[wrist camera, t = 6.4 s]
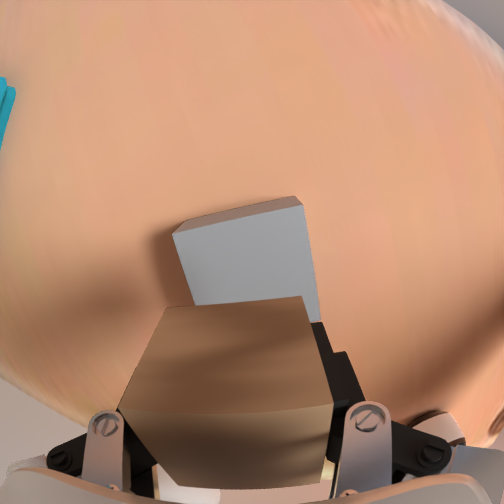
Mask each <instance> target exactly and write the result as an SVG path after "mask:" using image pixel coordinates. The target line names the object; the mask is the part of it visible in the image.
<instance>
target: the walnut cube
mask: <svg viewBox="0 0 504 504" xmlns="http://www.w3.org/2000/svg"><path fill="white" fill-rule="evenodd" d="M333 405H334V403H333V399H332V395H331V392H330V388H329V385H328V381H327V378H326V374H325V371H324V367H323V364H322V360H321V357H320V354H319V350H318V347H317V343H316V340H315V337H314V334H313V330H312V327H311V324H310V320H309V317H308V314H307V311H306V308H305V304H304V301H303V298H302V296H293V297H285V298H275V299H266V300H256V301H246V302H235V303H223V304H210V305H197V306H182V307H167V308H166V310H165V312H164V314H163V316H162V318H161V320H160V322H159V324H158V326H157V328H156V329H155V331H154V333H153V335H152V337H151V339H150V341H149V343H148V345H147V347H146V349H145V351H144V353H143V355H142V357H141V359H140V361H139V363H138V366H137V368H136V370H135V372H134V374H133V376H132V378H131V380H130V382H129V384H128V386H127V389H126V391H125V393H124V395H123V397H122V399H121V402H120V404H119V406H118V409H119V410H120V412H121V413H122V415H123V416H124V418H125V419H126V421H127V422H128V424H129V425H130V427H131V428H132V430H133V431H134V432H135V434H136V435H137V436H138V438H139V439H140V441H141V442H142V443H143V445H144V446H145V447H146V448H147V450H148V451H149V452H150V454H151V455H152V456H153V457H154V459H155V460H156V461H157V462H158V463H159V465H160V466H161V467H162V468H163V469H164V471H165V472H166V473H167V474H168V475H169V476H170V477H171V478H172V480H173V481H174V482H175V483H176V484H177V485H178V486H184V487H194V488H207V489H267V488H268V489H269V488H282V487H292V486H300V485H308V484H315V483H319V482H320V478H321V474H322V469H323V464H324V459H325V454H326V449H327V443H328V437H329V431H330V425H331V419H332V412H333Z"/></svg>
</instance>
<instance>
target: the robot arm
mask: <svg viewBox="0 0 504 504" xmlns="http://www.w3.org/2000/svg"><path fill="white" fill-rule="evenodd" d="M310 324H311V327H312V330H313V334H314V337H315V340H316V343H317V347H318V350H319V354H320V357H321V360H322V364H323V367H324V371H325V374H326V378H327V381H328V385H329V388H330V392H331V395H332V399H333V403H334V405H333V412H332V419H331V425H330V431H329V437H328V443H327V449H326V454H325V456H326V458H327V460H329V461H331V462H333V463H334V469H333V475H332V481H331V487H330V492H329V497H328V500H323V501H316V502H310V503H302V504H500V501H501V498H502V493H503V489H504V452H503V451H501V450H496V449H487V448H478V447H470V446H463V445H457V446H456V447H452V446H450V445H449V443H448V442H447V441H446V440H445V439H443V438H441V437H438V436H435V435H431V434H428V433H425V432H422V431H419V430H416V429H413V428H411V427H408V426H405V425H402V424H399V423H397V422H394V421H391V416H390V412H389V411H388V409H387V408H386V407H385V406H384V405H382V404H381V403H378V402H375V401H366V400H365V398H364V395H363V393H362V390H361V388H360V385H359V382H358V380H357V377H356V375H355V372H354V370H353V367H352V365H351V363H350V360H349V358H348V355H347V353H346V352H345V351H343V352H337V353H333V350H332V348H331V345H330V342H329V339H328V337H327V334H326V331H325V328H324V326H323V323H322V322H316V323H310ZM136 368H137V367H136ZM135 370H136V369H135ZM134 372H135V371H134ZM133 374H134V373H133ZM132 376H133V375H132ZM131 378H132V377H131ZM130 380H131V379H130ZM129 382H130V381H129ZM128 384H129V383H128ZM126 389H127V388H126ZM125 391H126V390H125ZM124 393H125V392H124ZM123 395H124V394H123ZM122 397H123V396H122ZM121 399H122V398H121ZM120 402H121V401H120ZM119 404H120V403H119ZM118 406H119V405H118ZM156 464H158V462H157V461H156V460H155V459H154V457H153V456H152V455H151V454H150V452H149V451H148V450H147V448H146V447H145V446H144V445H143V443H142V442H141V441H140V439H139V438H138V436H137V435H136V434H135V432H134V431H133V430H132V428H131V427H130V425H129V424H128V422H127V421H126V419H125V418H124V416H123V415H122V413H121V412H120V410H119V409H118V407H117V409H116V411H113V410H105V411H101V412H99V413H97V414H96V415H95V416H93V418H92V419H91V420H90V423H89V426H88V432H87V433H85V434H83V435H81V436H79V437H77V438H74V439H72V440H70V441H68V442H66V443H63V444H61V445H59V446H57V447H55V448H53V449H52V450H51V451H50V452H49V453H48V455H47V457H46V456H45V455H42V456H37V457H34V458H30V459H26V460H22V461H18V462H14V463H12V464H11V465H10V466H9V467H8V469H7V478H6V479H5V481H4V482H3V484H2V486H1V487H0V504H184V503H176V502H169V501H163V500H160V492H159V484H158V474H157V465H156Z"/></svg>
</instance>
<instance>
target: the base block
mask: <svg viewBox="0 0 504 504" xmlns="http://www.w3.org/2000/svg"><path fill="white" fill-rule="evenodd" d="M172 236H173V240H174V243H175V246H176V249H177V252H178V255H179V259H180V262H181V265H182V268H183V271H184V274H185V277H186V280H187V283H188V286H189V289H190V291H191V294H192V297H193V300H194V303H195V306H197V305H210V304H223V303H235V302H246V301H256V300H266V299H275V298H285V297H293V296H302V298H303V301H304V304H305V308H306V311H307V314H308V317H309V320H310V322H315V321H319V320H321V317H320V309H319V301H318V294H317V287H316V280H315V273H314V266H313V260H312V253H311V247H310V241H309V235H308V229H307V223H306V218H305V212H304V207H303V204H302V203H301V202H300V201H299V200H298V199H297V198H296V197H295V196H291V197H286V198H282V199H277V200H272V201H267V202H262V203H258V204H253V205H249V206H244V207H240V208H235V209H231V210H227V211H222V212H218V213H214V214H210V215H205V216H201V217H197V218H193V219H189V220H186V221H185V222H184V223H183V224H182V225H181V226H180V227H179V228H178V229H176V230H175V231H174V232H173V233H172Z"/></svg>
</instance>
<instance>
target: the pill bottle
mask: <svg viewBox="0 0 504 504" xmlns="http://www.w3.org/2000/svg"><path fill="white" fill-rule="evenodd" d="M156 465H157V474H158V484H159V492H160V500H163V501H169V502H176V503H184V504H219V501H220V492H221V489H207V488H194V487H184V486H178V485H177V484H176V483H175V482H174V481H173V480H172V478H171V477H170V476H169V475H168V474H167V473H166V472H165V471H164V469H163V468H162V467H161V466H160V465H159V463H158V464H156Z"/></svg>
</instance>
